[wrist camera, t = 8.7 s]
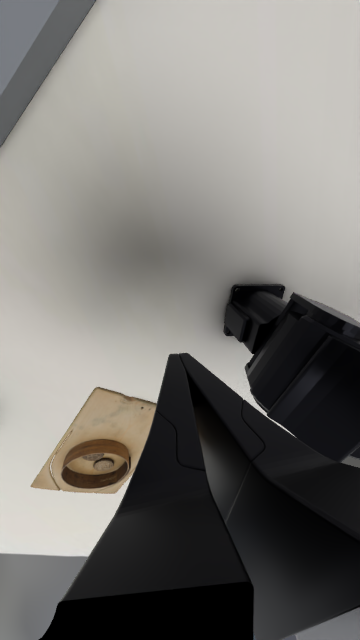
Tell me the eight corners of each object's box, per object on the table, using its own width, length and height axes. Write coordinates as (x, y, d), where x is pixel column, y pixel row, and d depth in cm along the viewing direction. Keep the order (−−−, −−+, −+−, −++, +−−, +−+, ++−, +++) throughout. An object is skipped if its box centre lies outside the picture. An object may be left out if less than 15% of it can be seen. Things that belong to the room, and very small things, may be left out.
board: (116, 490, 40) (114, 511, 37) (29, 485, 33) (19, 510, 31) (187, 408, 32) (192, 427, 30) (93, 381, 26) (88, 402, 23)
